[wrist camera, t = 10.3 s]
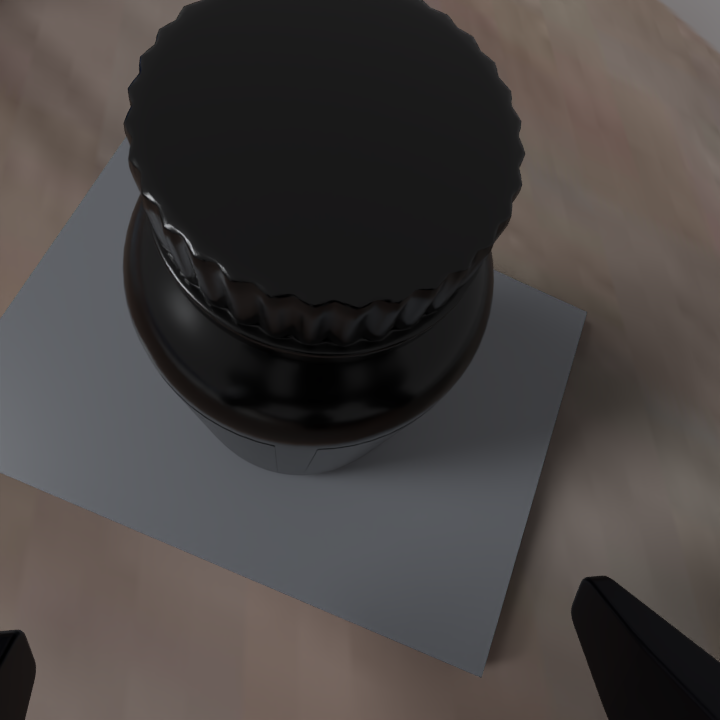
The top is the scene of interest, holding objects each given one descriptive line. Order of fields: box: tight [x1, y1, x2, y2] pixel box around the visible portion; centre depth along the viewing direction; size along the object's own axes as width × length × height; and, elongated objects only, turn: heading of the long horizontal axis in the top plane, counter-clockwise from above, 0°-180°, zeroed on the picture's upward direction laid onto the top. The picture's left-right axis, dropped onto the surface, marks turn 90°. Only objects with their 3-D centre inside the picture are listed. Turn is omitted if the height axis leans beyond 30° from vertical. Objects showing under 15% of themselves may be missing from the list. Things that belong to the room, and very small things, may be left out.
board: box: [0, 137, 587, 678], centre depth 18 cm, size 18×13×1 cm
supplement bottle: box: [123, 0, 525, 475], centre depth 12 cm, size 7×7×12 cm
